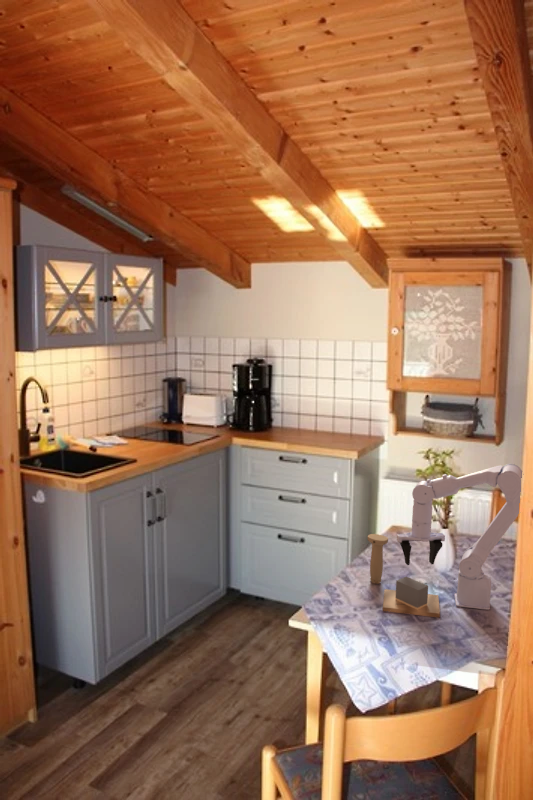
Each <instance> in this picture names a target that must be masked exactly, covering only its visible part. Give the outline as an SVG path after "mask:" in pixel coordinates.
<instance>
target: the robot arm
mask: <svg viewBox="0 0 533 800" xmlns="http://www.w3.org/2000/svg"><path fill="white" fill-rule="evenodd" d="M522 472H523V470H522V469H521V467H520V466H519V465H517V464H515V463H507V464H505V465H502V464H501V465H495V466H491V467H489V468H485V469H482V470H479V471H475V472H472V473H469V474H464V475H462V476H459V477H456V476H454V475H451V474H449V475H448V474H446V473H444V474H442V476H441V477H437V478H435V479H431V478H428V479H426V480H421V481H419V482H418V483H417V484H416V485H415V486H414V488H413V489H412V493H411V494H412V495H411V496H412V498H413V506H412V518H411V531H410V532H405V533H404V532H403V533H398V534H396V541H397V542H398V543H399V545H400V547H401V549H402V552H403V555H404V563H405V564H406V565H407V566H410V563H411V550H412V548H413V547H412V545H411V542H422V543H423V542H424V543H429V555H428V560H429V561H428V562H429V563H430V564H431V565H434V564H435V560H436V558H437V555H438V553H439V552H440V550H441V549H442V548H443V542H446V535H445V534H444V533H443V532H432V519H433V499H434V500H437V499H442V498H446V497H451V496H454V495H457V494H458V492H459V490H460V489H464V488H468V487H470V488H471V487H474V486H477V485H478V486H479V485H484V484H485V485H486V484H487V485H489V486H491V487H493V488H497V486H498V488H499V489H500V490H501V492H502V493H503V494H504V498H505V503H504V505H503V506H502V507H501V509H499V511H498V512H497V514H496V515H495V516H494V517H493V519H492V521H491V522H490V524H488V526H487V527H486V528H485V529H484V531H483V533H482V534H481V536H480V537H479V538H478V540H477V541H475V542H474V543H473V545H472V546H470V547H468V548H466V549H465V550H464V551H463V553H462V557H461V560H460V562H459V563H458V574H457V589H456V593H454V600H455V601H454V602H455V607H461V608H470V609H477V610H478V609H479V610H487V611H489V610H490V609H491V608H490V605H491V591H492V580H491V579H492V578H491V575H488V574H485V573H484V571H483V566H484V564H485V562H486V561H487V559H488V557H489V556H490V554H491V552H492V551H493V549H494V548H495V547H496V546H497V544H498V543H499V542H500V540H501V539H502V537H504V535H505V533H506V532H507V531H508V530H509V528H510V527H511V526H512V524H513V523H514V521H515V520H516V519H517V518H518V516H519V515H520V514H519V503H520V492H521V478H522ZM518 514H519V515H518Z"/></svg>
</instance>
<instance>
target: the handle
mask: <svg viewBox="0 0 533 800" xmlns="http://www.w3.org/2000/svg"><path fill="white" fill-rule="evenodd" d="M367 541H368V542H369V543H370V544H371V556H370V564H369V574H370V582H371V583H372V584H374V585H378V584H381V583H382V576H383V571H384V570H383V569H384V567H383V566H384V558H383V557H384V556H383V554H384V553H383V552H384V551H383V549H384V545H386V544H388V543H389V537H387V536H385V535H382V534H377V533H371V534H368V535H367Z"/></svg>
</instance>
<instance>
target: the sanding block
mask: <svg viewBox="0 0 533 800" xmlns="http://www.w3.org/2000/svg"><path fill="white" fill-rule="evenodd" d="M395 583H396V584H395V590H396V597H395V600H397V601H399V602H401V603H404V604H406V605H408V606H410V607H412V608H414V609H417V610H418V609H420V608H422V607H424V606H427V599H428V594H429V585H427V584H425V583H423V582H420V581H418V580H415V579H413V578H411V577H409V576H405V577H402V578H399V579H397V580H396V582H395Z"/></svg>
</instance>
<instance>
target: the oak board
mask: <svg viewBox="0 0 533 800" xmlns="http://www.w3.org/2000/svg"><path fill="white" fill-rule="evenodd" d="M383 591H384V592H383V602H382V612H387V611H388V613H396V614H406V615H415V616H423V617H432V618H440V616H441V611H440V610H441V609H440V602H439V601H440V600H439V594H434V593H433V594H430V593H428V599H427V606H424V607H422V608H420V609H418V610H417V609H414V608H412V607H410V606H408V605H406V604H404V603H401V602H399V601H397V600H395V597H396V589H385V588H384V590H383Z"/></svg>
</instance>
